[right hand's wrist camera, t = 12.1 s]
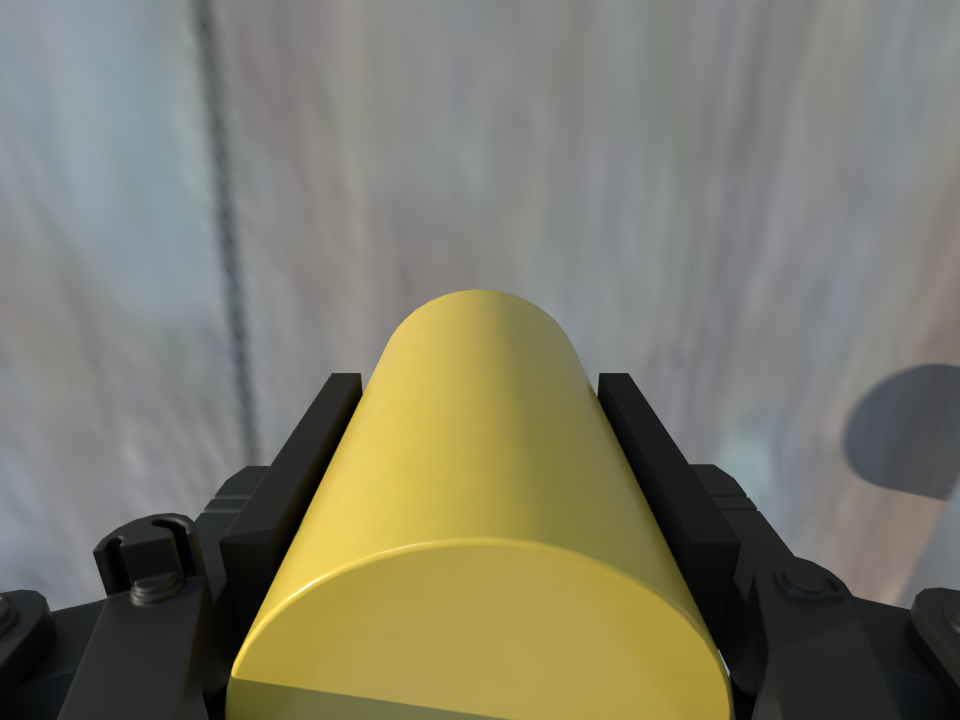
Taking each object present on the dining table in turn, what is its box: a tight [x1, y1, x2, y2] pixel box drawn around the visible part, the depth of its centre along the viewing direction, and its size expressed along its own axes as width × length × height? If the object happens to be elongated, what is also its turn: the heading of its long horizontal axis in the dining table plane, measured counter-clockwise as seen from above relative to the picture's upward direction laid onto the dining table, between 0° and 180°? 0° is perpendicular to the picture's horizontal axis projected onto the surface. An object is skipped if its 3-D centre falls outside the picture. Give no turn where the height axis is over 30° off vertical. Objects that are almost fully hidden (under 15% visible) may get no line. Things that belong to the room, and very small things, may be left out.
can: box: [225, 290, 733, 720], centre depth 12 cm, size 6×6×11 cm
